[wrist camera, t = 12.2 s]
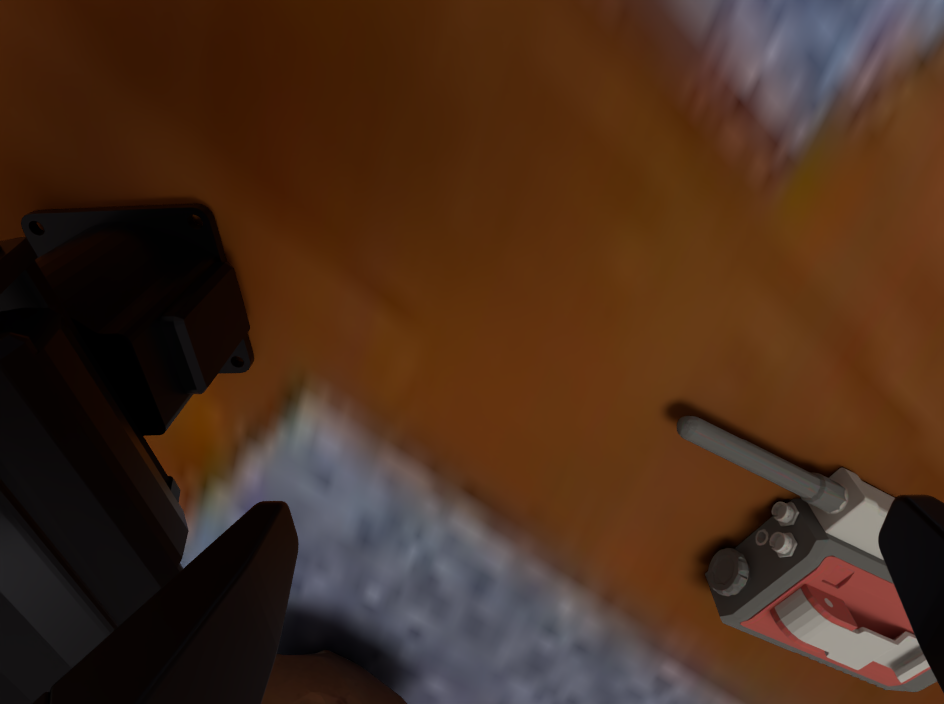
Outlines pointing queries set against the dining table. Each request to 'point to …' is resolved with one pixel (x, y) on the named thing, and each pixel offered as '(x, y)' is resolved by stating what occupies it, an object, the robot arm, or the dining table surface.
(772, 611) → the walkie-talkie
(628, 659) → the dining table surface
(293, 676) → the butternut squash
